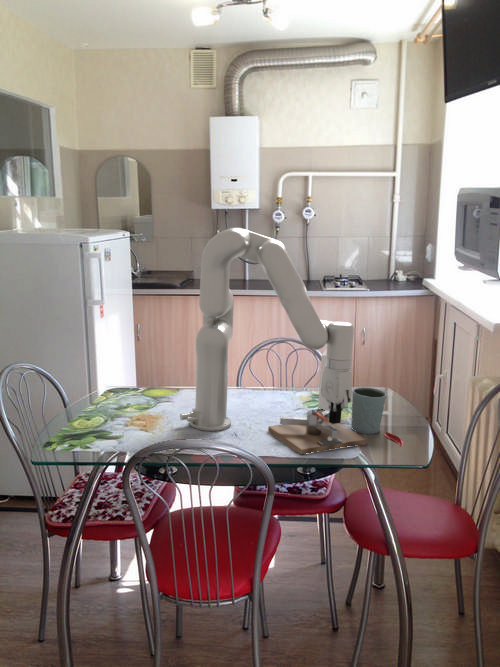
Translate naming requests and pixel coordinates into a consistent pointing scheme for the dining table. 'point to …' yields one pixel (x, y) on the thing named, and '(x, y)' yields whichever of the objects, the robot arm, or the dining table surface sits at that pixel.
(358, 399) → the grey-green cup
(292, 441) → the board
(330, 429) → the capstan
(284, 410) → the dining table surface
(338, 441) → the level window
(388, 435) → the cayenne pepper
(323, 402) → the milk
